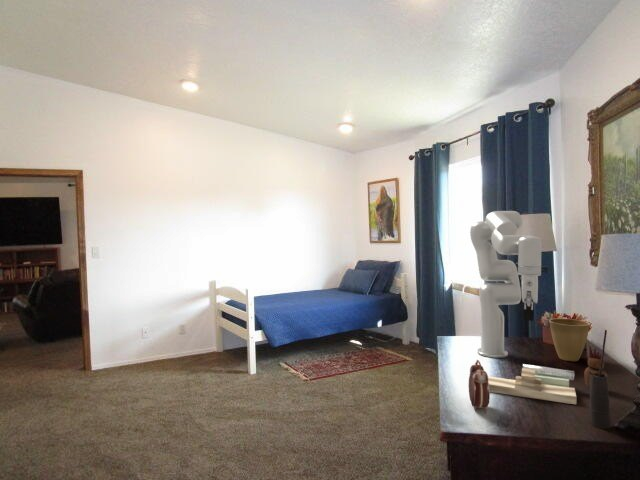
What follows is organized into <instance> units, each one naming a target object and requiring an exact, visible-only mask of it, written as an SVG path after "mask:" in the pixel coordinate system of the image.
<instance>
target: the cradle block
mask: <svg viewBox="0 0 640 480" xmlns="http://www.w3.org/2000/svg"><path fill="white" fill-rule="evenodd" d="M535 378H536V379H541V384H549V385H556V386H563V387H570V380H569V379H568V378H561V377H553V376H545V375H537V374H535Z"/></svg>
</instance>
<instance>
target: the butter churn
mask: <svg viewBox="0 0 640 480" xmlns="http://www.w3.org/2000/svg"><path fill="white" fill-rule="evenodd" d="M607 333H608V330H607V329H604V336H603V342H602V348H601V349H602V350H601V355H602V356H601V363H600V370H599V373H596V374H595V373H592V372H591V371H589V372H588V373H589V374H590V389H589V412H590V413H589V418H590V419H589V420H590V421H589V422H590V424H591V425H592V426H593V427H595V428H597V429H603V430H607V429H610V428H612V419H611V418H612V417H611V409H610V408H611V407H610V394H609V381H608V379H609V378H608V379H607V376H608V374H607V375H605V374H601V373H602V365H603V361H604V355H605V348H606V340H607Z"/></svg>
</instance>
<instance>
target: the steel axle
mask: <svg viewBox="0 0 640 480" xmlns="http://www.w3.org/2000/svg"><path fill="white" fill-rule="evenodd" d="M522 368H526V369H534V370H535V374H537V375H545V376H553V377H561V378H568V379H569V381H574V380H575V371H574V370H569V369H561V368H554V367H548V366H542V365H534V364H527V363H526V364H525V363H522Z"/></svg>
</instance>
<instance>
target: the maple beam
mask: <svg viewBox="0 0 640 480" xmlns="http://www.w3.org/2000/svg"><path fill="white" fill-rule="evenodd" d="M488 382H489V390H490V392H491V393H496V394H504V395H511V396H517V397H523V398H530V399H537V400H544V401H551V402H557V403H563V404H570V405H577V394H576V393H577V392H576V389H575V387H570V386H569V387H563V386H556V385H549V384H541V379H536V378H535V370H534V369H526V368H523V367H522V368H521V376H520V375H519V376H518V375H515V379H509V378H503V377H495V376H489V375H488Z"/></svg>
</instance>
